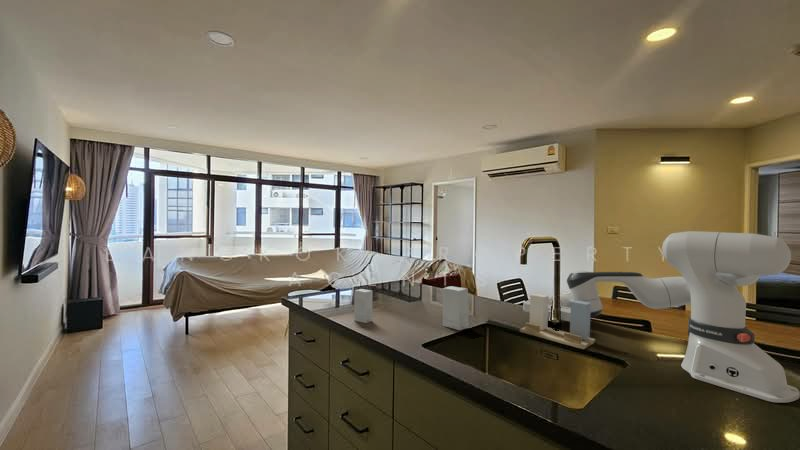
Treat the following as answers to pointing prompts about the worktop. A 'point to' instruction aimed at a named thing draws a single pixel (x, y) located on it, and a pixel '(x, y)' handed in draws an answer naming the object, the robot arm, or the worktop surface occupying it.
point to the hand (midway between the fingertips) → (541, 314)
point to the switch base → (557, 336)
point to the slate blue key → (580, 319)
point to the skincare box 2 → (455, 307)
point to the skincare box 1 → (363, 305)
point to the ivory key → (539, 310)
